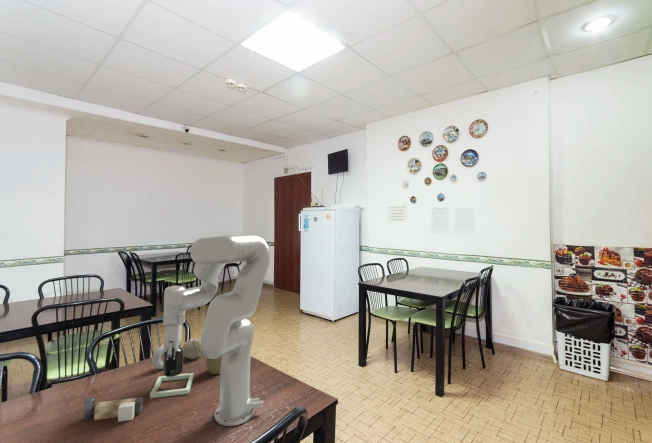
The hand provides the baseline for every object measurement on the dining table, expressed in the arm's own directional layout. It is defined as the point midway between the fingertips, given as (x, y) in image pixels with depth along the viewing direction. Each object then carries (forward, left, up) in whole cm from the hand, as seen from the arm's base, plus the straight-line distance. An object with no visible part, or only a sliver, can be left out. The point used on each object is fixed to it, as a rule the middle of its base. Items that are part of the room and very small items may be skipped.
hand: (173, 364), depth 119 cm
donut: (+7, -17, -9) cm, 20 cm away
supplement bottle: (0, 0, -3) cm, 3 cm away
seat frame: (0, 0, -8) cm, 8 cm away
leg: (+13, +14, -8) cm, 21 cm away
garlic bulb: (-3, -25, -9) cm, 27 cm away
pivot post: (+22, +14, -8) cm, 27 cm away
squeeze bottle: (-15, -9, -9) cm, 20 cm away
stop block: (+10, +17, -8) cm, 22 cm away
